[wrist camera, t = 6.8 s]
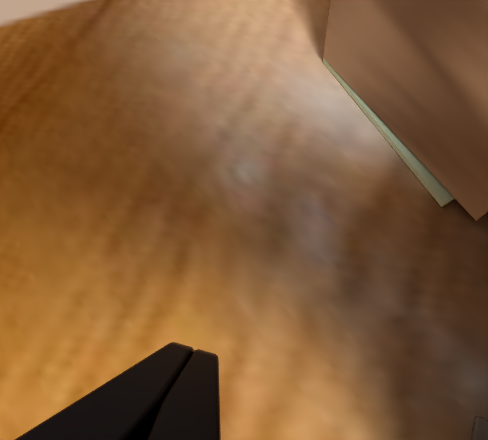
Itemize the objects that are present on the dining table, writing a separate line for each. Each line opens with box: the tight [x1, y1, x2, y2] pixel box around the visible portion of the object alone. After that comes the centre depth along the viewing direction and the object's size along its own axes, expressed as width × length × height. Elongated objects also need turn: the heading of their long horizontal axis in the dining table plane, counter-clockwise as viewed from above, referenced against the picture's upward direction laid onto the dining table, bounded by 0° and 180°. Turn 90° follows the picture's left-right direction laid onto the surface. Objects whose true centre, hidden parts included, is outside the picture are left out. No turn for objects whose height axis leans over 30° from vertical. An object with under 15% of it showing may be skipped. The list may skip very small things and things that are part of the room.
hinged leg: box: [323, 0, 488, 221], centre depth 13 cm, size 9×2×9 cm, turn 33°
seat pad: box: [323, 58, 455, 207], centre depth 18 cm, size 8×4×1 cm, turn 30°
